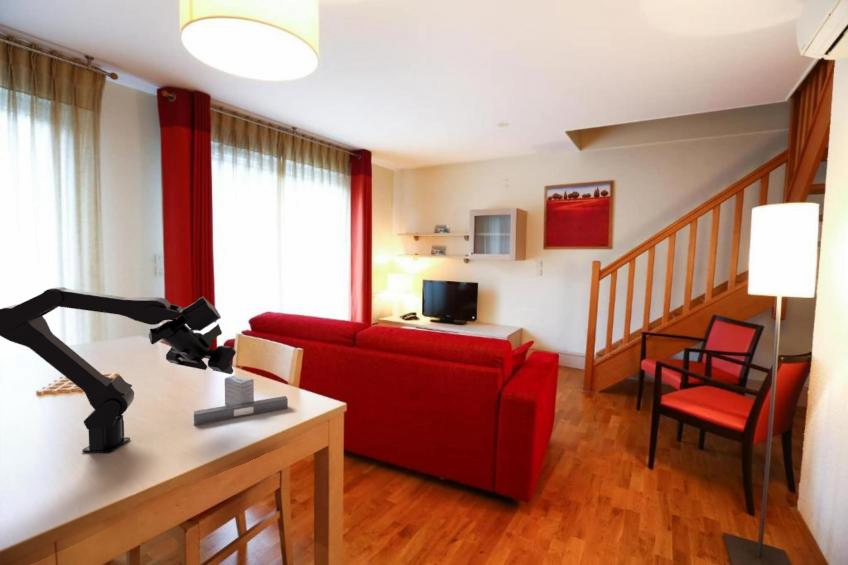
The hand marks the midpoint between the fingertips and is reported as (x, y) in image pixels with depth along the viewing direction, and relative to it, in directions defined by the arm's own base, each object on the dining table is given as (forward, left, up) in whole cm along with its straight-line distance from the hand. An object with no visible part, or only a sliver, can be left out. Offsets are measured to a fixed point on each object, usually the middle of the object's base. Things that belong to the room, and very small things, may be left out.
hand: (219, 370), depth 109 cm
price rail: (+1, -6, -13) cm, 14 cm away
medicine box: (+7, -2, -13) cm, 15 cm away
